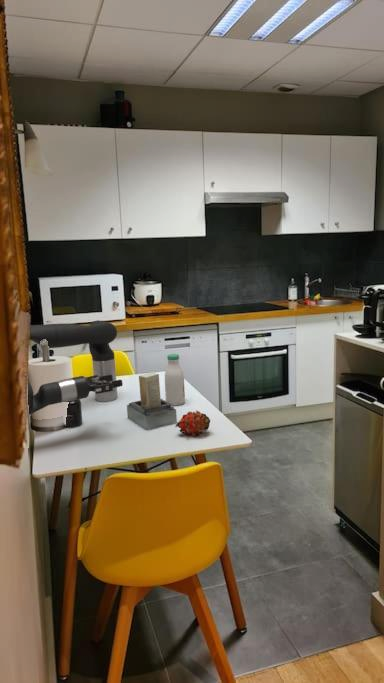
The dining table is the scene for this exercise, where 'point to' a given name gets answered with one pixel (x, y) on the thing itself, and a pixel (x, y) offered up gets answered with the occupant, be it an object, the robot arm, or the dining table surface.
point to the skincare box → (149, 390)
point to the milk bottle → (174, 381)
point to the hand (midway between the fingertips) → (116, 380)
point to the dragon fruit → (193, 423)
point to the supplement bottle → (74, 414)
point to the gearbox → (152, 415)
